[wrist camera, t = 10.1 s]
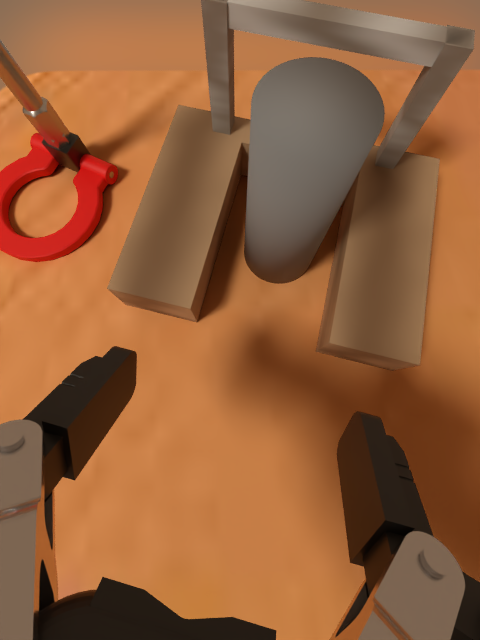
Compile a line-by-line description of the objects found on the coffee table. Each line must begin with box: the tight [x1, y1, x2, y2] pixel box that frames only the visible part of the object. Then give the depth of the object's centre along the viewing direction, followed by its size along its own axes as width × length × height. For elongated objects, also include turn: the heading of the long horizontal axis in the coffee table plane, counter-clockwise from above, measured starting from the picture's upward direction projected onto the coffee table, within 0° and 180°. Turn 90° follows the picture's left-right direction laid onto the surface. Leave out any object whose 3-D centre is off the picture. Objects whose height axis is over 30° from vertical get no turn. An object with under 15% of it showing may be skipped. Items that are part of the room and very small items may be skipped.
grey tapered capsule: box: [244, 57, 385, 283], centre depth 16 cm, size 5×5×11 cm
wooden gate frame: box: [107, 0, 475, 371], centre depth 17 cm, size 18×14×10 cm
